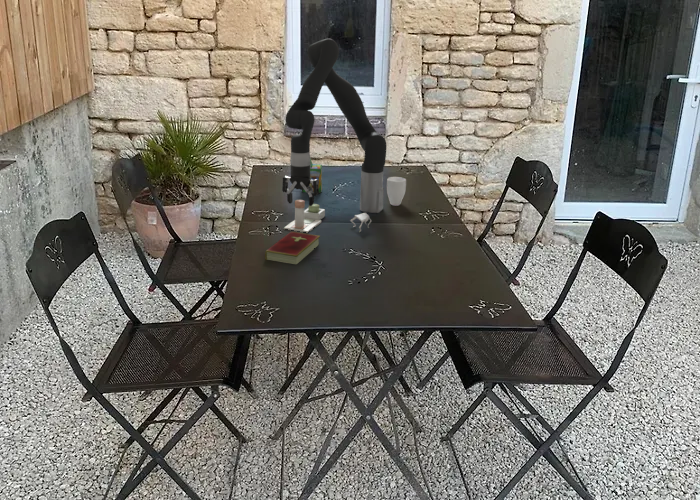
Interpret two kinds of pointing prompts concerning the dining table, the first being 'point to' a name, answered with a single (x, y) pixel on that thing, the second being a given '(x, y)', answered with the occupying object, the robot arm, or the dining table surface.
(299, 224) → the marker
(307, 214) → the button housing
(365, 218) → the origami figure
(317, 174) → the chalk box
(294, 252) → the hardcover book
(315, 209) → the button
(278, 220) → the dining table surface
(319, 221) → the colouring board
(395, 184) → the mug
